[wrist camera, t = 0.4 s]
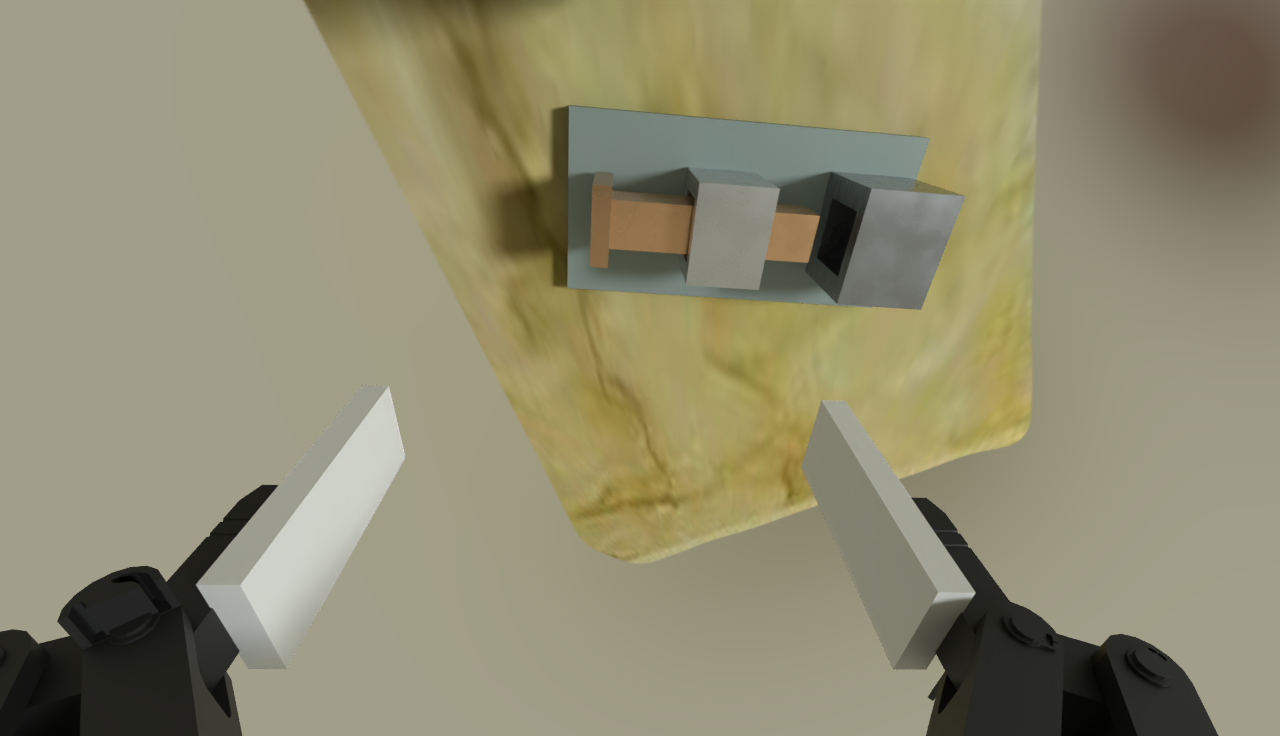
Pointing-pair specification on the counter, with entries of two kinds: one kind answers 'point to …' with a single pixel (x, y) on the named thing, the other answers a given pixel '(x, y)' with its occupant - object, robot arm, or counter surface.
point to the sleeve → (728, 228)
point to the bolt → (679, 224)
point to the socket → (881, 239)
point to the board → (667, 144)
